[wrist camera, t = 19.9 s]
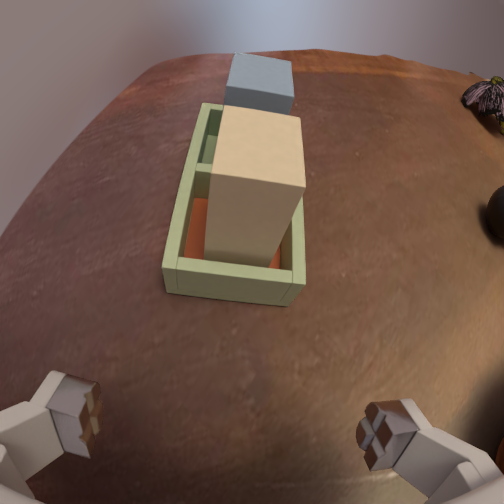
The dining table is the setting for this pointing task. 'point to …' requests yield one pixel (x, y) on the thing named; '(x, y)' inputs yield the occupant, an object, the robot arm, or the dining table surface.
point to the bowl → (500, 457)
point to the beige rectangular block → (253, 185)
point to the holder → (193, 238)
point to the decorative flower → (487, 98)
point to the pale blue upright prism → (260, 84)
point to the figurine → (496, 213)
